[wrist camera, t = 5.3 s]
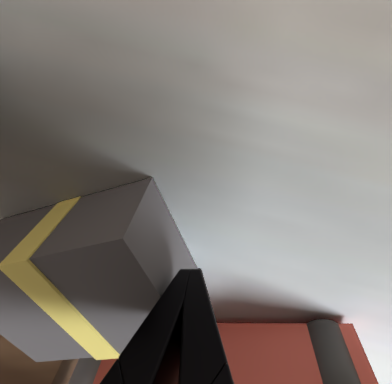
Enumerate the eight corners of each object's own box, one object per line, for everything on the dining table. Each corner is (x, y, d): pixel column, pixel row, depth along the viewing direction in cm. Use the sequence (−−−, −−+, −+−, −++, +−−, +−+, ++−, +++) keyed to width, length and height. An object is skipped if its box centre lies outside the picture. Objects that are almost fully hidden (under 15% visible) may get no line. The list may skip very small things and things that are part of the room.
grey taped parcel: (201, 276, 13) (194, 352, 10) (73, 297, 15) (35, 364, 12) (151, 176, 10) (120, 239, 7) (0, 218, 12) (-74, 281, 9)
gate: (100, 336, 17) (53, 455, 12) (89, 318, 16) (32, 441, 11) (347, 340, 14) (406, 489, 10) (353, 319, 13) (423, 475, 9)
